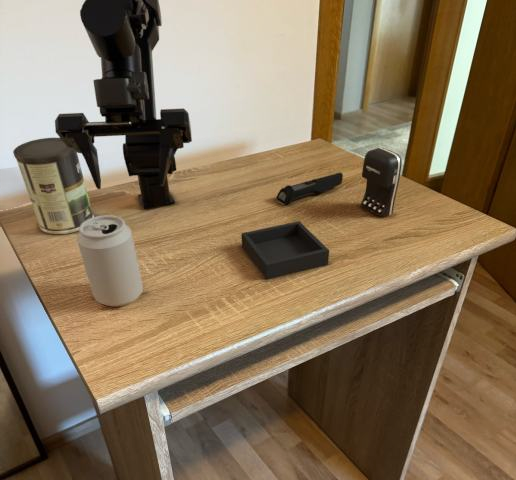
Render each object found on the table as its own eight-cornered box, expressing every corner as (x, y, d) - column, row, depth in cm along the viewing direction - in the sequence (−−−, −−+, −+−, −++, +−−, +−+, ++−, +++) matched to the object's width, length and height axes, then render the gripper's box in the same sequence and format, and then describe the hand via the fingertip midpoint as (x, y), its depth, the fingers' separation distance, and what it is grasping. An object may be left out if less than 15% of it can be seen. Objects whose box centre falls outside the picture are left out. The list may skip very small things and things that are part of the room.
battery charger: (354, 206, 96) (362, 148, 89) (369, 202, 98) (377, 144, 90) (378, 220, 92) (388, 160, 84) (393, 215, 93) (404, 155, 86)
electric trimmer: (346, 189, 103) (347, 174, 101) (285, 206, 97) (286, 191, 95) (334, 183, 105) (336, 169, 103) (275, 200, 99) (275, 184, 97)
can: (132, 312, 71) (115, 239, 64) (85, 307, 73) (63, 234, 65) (151, 284, 77) (137, 213, 69) (107, 279, 78) (89, 209, 70)
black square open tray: (241, 247, 85) (241, 233, 83) (298, 234, 88) (299, 220, 86) (266, 279, 77) (266, 265, 76) (328, 264, 80) (329, 250, 79)
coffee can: (85, 205, 99) (66, 133, 89) (101, 225, 92) (82, 149, 83) (33, 218, 95) (7, 144, 85) (46, 240, 88) (19, 162, 79)
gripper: (35, 49, 63) (44, 169, 63) (181, 44, 64) (189, 162, 64) (65, 94, 74) (72, 196, 74) (188, 89, 75) (195, 190, 75)
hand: (130, 186), depth 71 cm, fingers open, 9 cm apart
